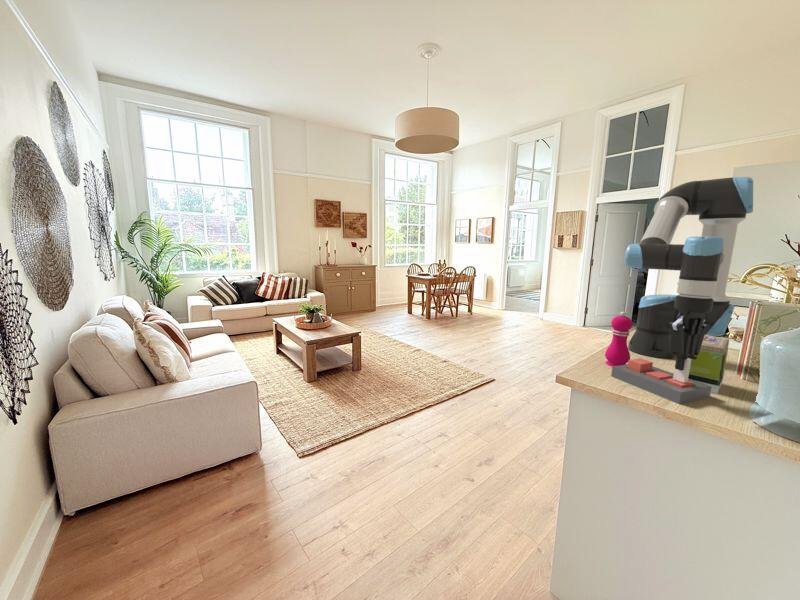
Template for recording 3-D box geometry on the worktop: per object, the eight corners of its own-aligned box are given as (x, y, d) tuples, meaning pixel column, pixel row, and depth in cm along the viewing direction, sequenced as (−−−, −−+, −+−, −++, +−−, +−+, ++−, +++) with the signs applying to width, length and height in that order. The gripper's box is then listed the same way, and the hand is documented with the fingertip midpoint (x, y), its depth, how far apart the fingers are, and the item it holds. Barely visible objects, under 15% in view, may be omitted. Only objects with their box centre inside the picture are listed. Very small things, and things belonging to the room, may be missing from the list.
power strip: (619, 368, 114) (621, 355, 113) (708, 401, 90) (711, 386, 89) (592, 372, 109) (594, 359, 109) (678, 408, 86) (680, 392, 85)
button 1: (638, 369, 104) (640, 358, 103) (651, 373, 100) (653, 362, 100) (626, 371, 102) (628, 359, 102) (639, 375, 99) (641, 364, 98)
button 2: (656, 382, 99) (657, 370, 98) (669, 387, 96) (671, 375, 95) (644, 384, 97) (645, 372, 97) (657, 389, 94) (659, 377, 93)
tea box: (680, 374, 109) (688, 331, 107) (722, 384, 102) (731, 338, 99) (671, 386, 99) (679, 339, 97) (716, 398, 92) (726, 348, 89)
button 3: (676, 389, 94) (678, 377, 93) (691, 395, 90) (694, 382, 90) (664, 392, 92) (666, 379, 92) (679, 398, 89) (681, 385, 88)
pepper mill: (632, 373, 109) (640, 314, 106) (608, 371, 111) (616, 313, 108) (622, 365, 116) (630, 310, 113) (600, 363, 118) (607, 308, 114)
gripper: (694, 293, 92) (680, 372, 96) (662, 294, 88) (649, 378, 92) (727, 297, 85) (711, 383, 89) (695, 299, 81) (679, 389, 85)
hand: (680, 380), depth 91 cm, fingers closed
